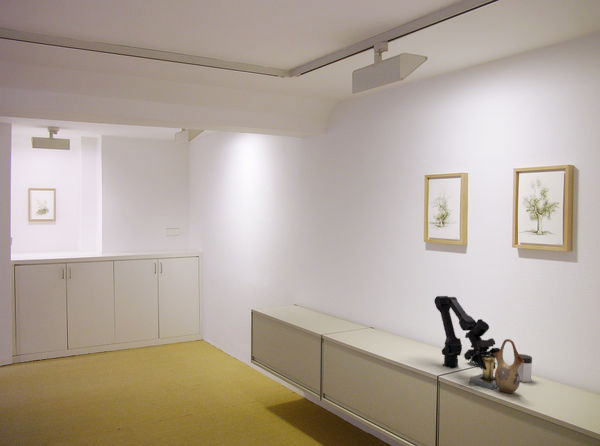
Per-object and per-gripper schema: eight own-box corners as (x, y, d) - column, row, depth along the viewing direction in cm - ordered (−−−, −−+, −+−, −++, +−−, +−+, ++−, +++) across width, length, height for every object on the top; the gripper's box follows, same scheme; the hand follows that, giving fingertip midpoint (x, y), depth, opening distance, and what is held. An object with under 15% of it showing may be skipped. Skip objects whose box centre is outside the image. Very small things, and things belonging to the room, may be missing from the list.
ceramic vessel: (485, 387, 254) (488, 336, 253) (497, 385, 259) (500, 334, 258) (515, 398, 240) (518, 344, 240) (527, 395, 245) (530, 342, 244)
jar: (534, 380, 269) (536, 357, 268) (526, 383, 264) (528, 359, 263) (518, 375, 276) (519, 353, 275) (510, 378, 270) (511, 355, 270)
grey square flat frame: (469, 382, 261) (470, 377, 261) (482, 378, 269) (482, 373, 269) (492, 389, 252) (492, 384, 252) (504, 384, 260) (505, 379, 260)
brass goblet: (478, 382, 261) (479, 356, 260) (484, 380, 265) (486, 355, 264) (489, 386, 256) (491, 359, 256) (496, 384, 260) (497, 357, 260)
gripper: (468, 333, 260) (482, 362, 250) (499, 331, 267) (514, 359, 257) (458, 345, 268) (471, 373, 258) (488, 343, 274) (502, 370, 264)
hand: (490, 369), depth 259 cm, fingers closed on brass goblet, 5 cm apart
